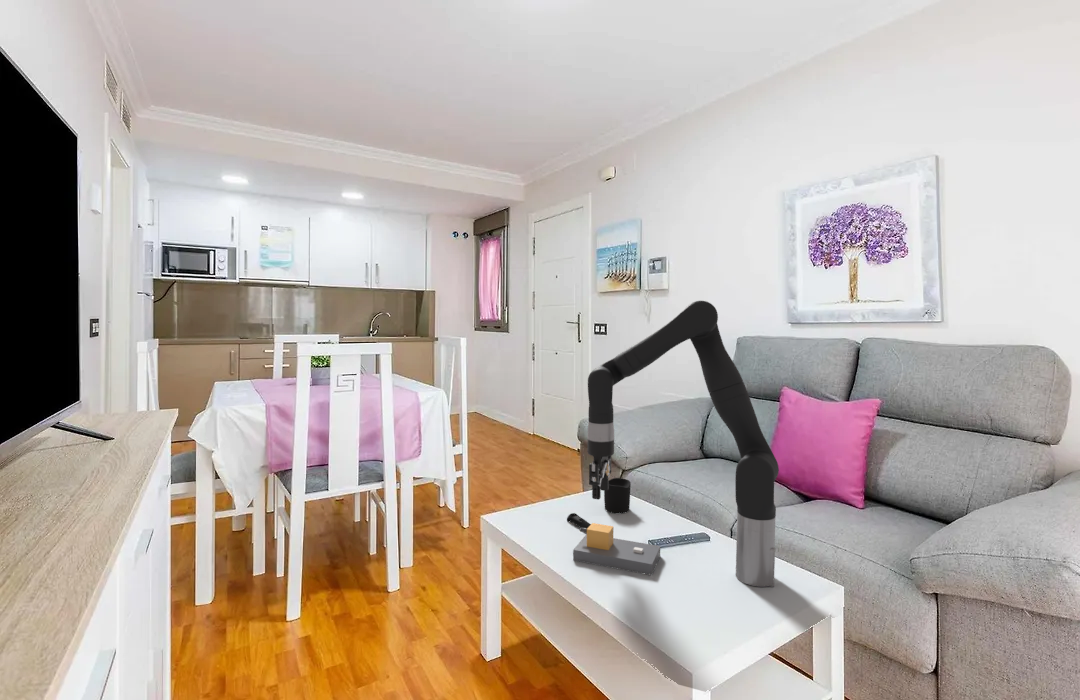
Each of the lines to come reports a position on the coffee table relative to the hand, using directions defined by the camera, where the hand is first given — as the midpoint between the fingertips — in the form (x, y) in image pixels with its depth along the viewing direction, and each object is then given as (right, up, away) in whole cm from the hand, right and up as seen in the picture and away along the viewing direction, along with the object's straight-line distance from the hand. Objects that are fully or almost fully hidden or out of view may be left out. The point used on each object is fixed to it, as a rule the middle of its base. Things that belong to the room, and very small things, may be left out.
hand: (600, 494), depth 149 cm
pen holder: (+10, -16, +37) cm, 42 cm away
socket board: (+5, -18, -1) cm, 18 cm away
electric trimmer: (-3, -17, +21) cm, 27 cm away
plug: (-1, -18, +2) cm, 18 cm away
